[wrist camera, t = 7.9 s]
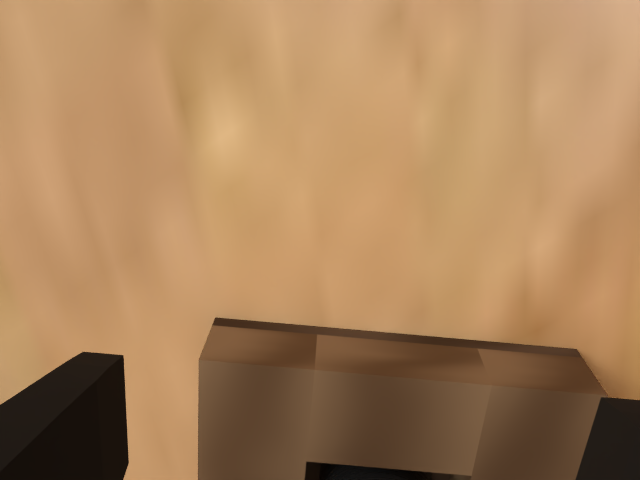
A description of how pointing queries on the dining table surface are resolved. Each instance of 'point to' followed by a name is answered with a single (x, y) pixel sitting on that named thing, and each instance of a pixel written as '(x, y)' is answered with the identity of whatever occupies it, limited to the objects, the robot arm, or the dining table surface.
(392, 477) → the pin
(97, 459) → the robot arm
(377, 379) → the socket block
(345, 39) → the dining table surface
